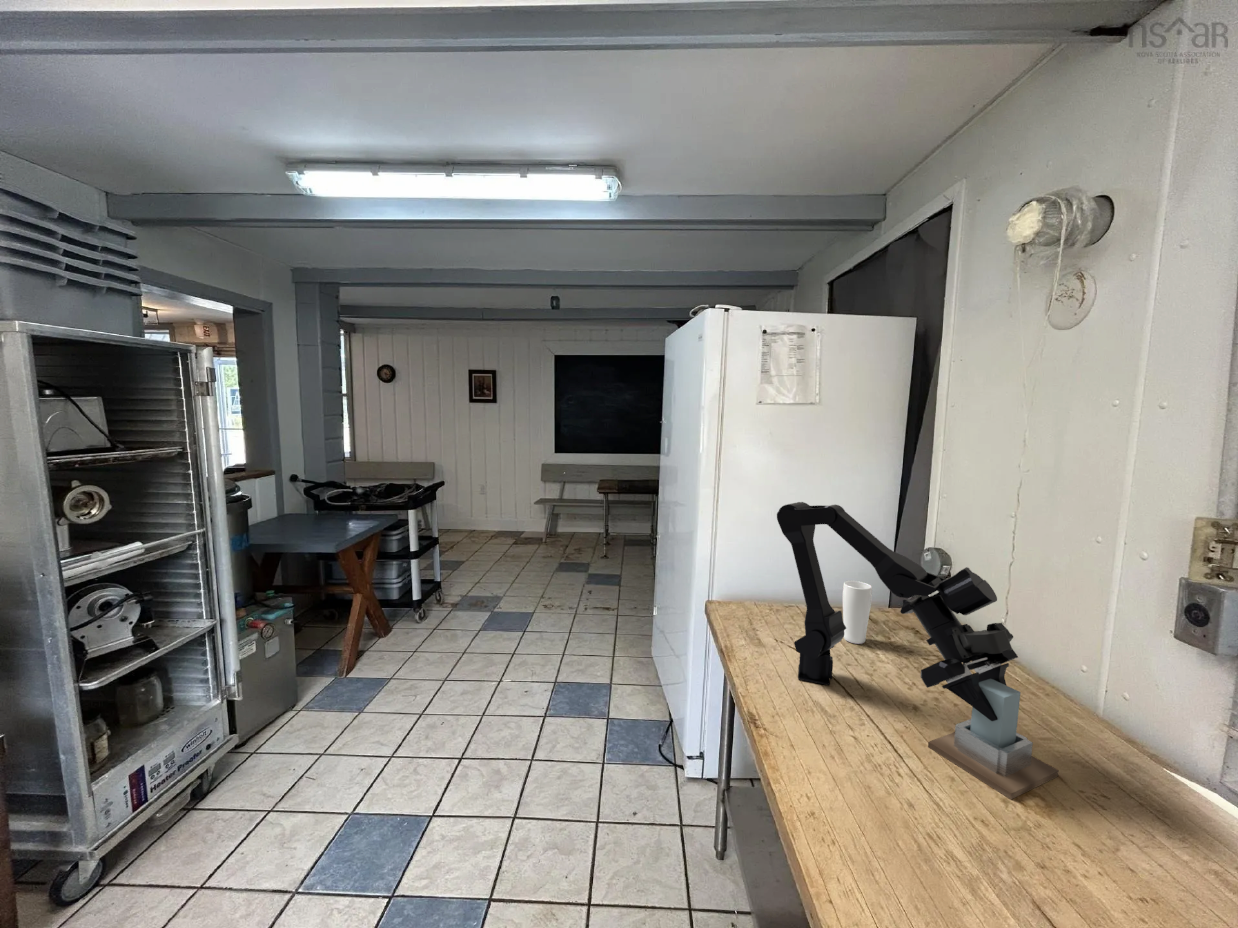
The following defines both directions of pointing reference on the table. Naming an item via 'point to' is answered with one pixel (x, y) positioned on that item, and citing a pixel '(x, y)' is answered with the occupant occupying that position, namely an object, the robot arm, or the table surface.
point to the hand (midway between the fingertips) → (1003, 716)
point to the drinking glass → (856, 610)
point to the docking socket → (994, 760)
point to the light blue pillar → (998, 714)
